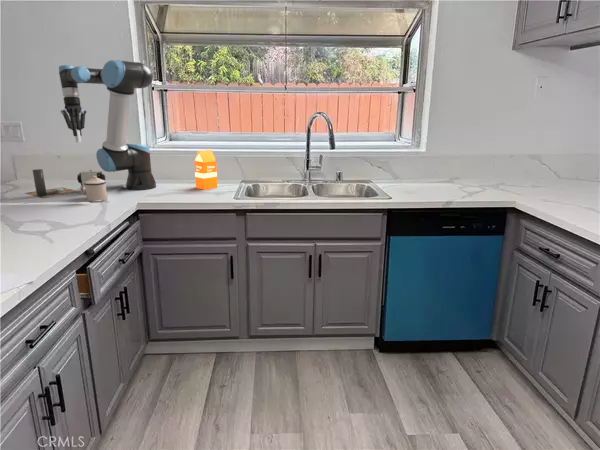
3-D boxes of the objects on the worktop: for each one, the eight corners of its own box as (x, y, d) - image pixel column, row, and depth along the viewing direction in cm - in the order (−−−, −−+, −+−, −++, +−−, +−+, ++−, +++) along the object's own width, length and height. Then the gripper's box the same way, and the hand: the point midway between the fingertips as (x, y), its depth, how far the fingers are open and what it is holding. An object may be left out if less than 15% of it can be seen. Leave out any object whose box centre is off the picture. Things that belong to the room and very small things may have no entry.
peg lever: (60, 191, 205) (56, 166, 201) (65, 191, 203) (61, 167, 200) (35, 196, 194) (30, 170, 190) (40, 196, 192) (36, 170, 189)
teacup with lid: (112, 198, 196) (109, 174, 193) (101, 203, 187) (97, 178, 184) (88, 197, 197) (84, 173, 194) (76, 202, 188) (72, 177, 185)
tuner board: (81, 194, 205) (81, 191, 205) (43, 200, 191) (42, 197, 190) (62, 189, 215) (61, 186, 214) (24, 195, 200) (24, 192, 200)
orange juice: (195, 187, 224) (193, 150, 218) (208, 185, 230) (207, 149, 224) (204, 189, 219) (202, 151, 213) (217, 187, 225) (216, 150, 219)
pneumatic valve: (103, 194, 204) (100, 170, 200) (79, 195, 203) (75, 170, 199) (108, 192, 209) (105, 169, 205) (84, 192, 208) (81, 169, 205)
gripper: (79, 98, 224) (86, 142, 229) (55, 96, 214) (62, 143, 219) (87, 96, 220) (94, 141, 225) (62, 95, 210) (70, 142, 215)
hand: (78, 142), depth 222 cm, fingers closed
